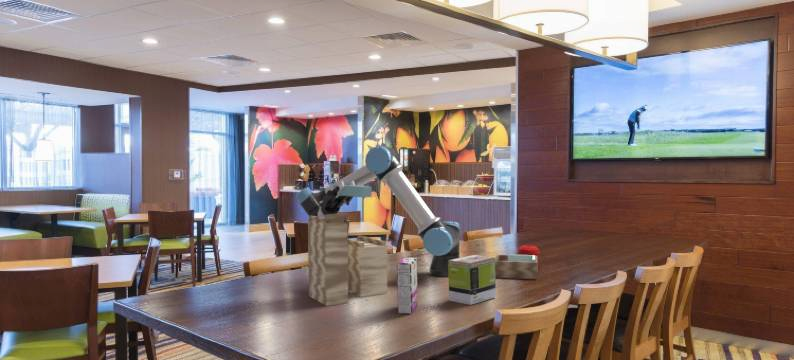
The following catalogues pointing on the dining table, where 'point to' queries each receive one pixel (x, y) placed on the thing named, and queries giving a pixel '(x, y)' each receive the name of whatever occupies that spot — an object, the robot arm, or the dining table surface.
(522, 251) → the apple
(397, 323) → the dining table surface
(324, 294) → the stand
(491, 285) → the tea box
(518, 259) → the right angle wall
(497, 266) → the caddy
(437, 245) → the robot arm
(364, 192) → the bar
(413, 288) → the candy bar box
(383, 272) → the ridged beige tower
